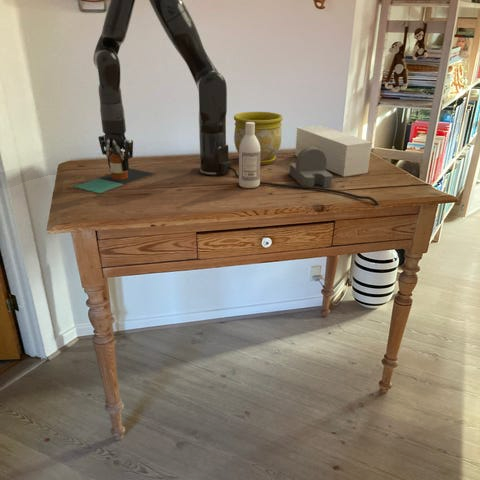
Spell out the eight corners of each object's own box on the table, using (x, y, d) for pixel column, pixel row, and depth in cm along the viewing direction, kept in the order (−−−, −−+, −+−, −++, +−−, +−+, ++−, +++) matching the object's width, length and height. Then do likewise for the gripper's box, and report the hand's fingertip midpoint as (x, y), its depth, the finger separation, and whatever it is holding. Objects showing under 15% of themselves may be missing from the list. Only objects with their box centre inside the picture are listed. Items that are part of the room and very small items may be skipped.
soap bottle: (131, 177, 181) (128, 147, 175) (120, 181, 177) (116, 151, 172) (119, 174, 183) (116, 145, 178) (108, 178, 179) (104, 148, 174)
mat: (153, 174, 185) (153, 173, 185) (99, 193, 166) (99, 192, 166) (128, 169, 190) (128, 168, 190) (73, 187, 172) (73, 186, 172)
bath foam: (263, 187, 173) (265, 123, 163) (244, 189, 170) (245, 125, 160) (253, 181, 178) (254, 119, 168) (235, 183, 176) (235, 121, 165)
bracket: (305, 188, 172) (307, 155, 166) (288, 173, 187) (290, 142, 181) (332, 186, 174) (335, 153, 168) (314, 171, 188) (316, 141, 183)
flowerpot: (272, 169, 191) (274, 122, 182) (227, 164, 196) (226, 118, 188) (286, 157, 205) (288, 113, 197) (243, 153, 211) (243, 110, 202)
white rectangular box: (367, 173, 187) (371, 142, 182) (343, 176, 183) (347, 145, 178) (317, 152, 212) (319, 125, 206) (295, 155, 208) (296, 127, 202)
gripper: (137, 117, 169) (142, 170, 178) (105, 113, 176) (111, 163, 185) (120, 121, 164) (126, 175, 173) (88, 116, 170) (95, 168, 179)
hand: (118, 169), depth 178 cm, fingers closed on soap bottle, 5 cm apart
